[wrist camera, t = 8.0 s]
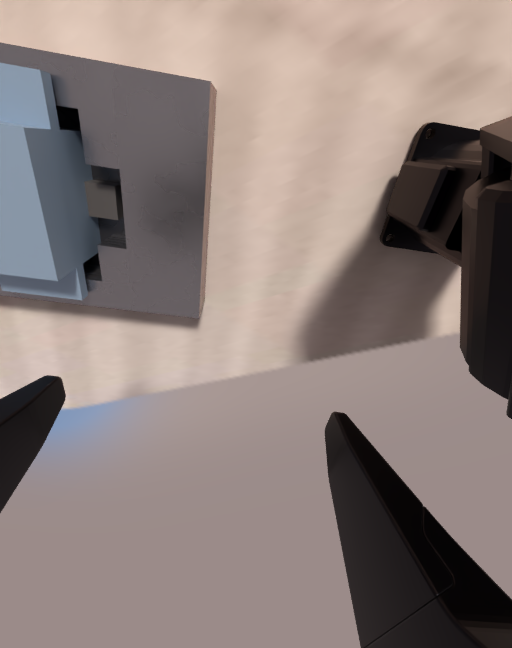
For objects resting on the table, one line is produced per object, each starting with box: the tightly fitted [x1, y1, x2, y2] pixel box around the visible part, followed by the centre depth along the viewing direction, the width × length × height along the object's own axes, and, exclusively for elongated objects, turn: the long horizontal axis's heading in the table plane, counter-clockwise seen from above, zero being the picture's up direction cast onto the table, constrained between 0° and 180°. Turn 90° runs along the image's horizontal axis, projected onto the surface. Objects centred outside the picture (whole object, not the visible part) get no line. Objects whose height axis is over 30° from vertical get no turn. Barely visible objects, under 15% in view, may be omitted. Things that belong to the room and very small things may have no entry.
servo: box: [0, 63, 124, 300], centre depth 15 cm, size 6×10×5 cm, turn 172°
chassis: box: [0, 43, 217, 319], centre depth 16 cm, size 16×12×2 cm
